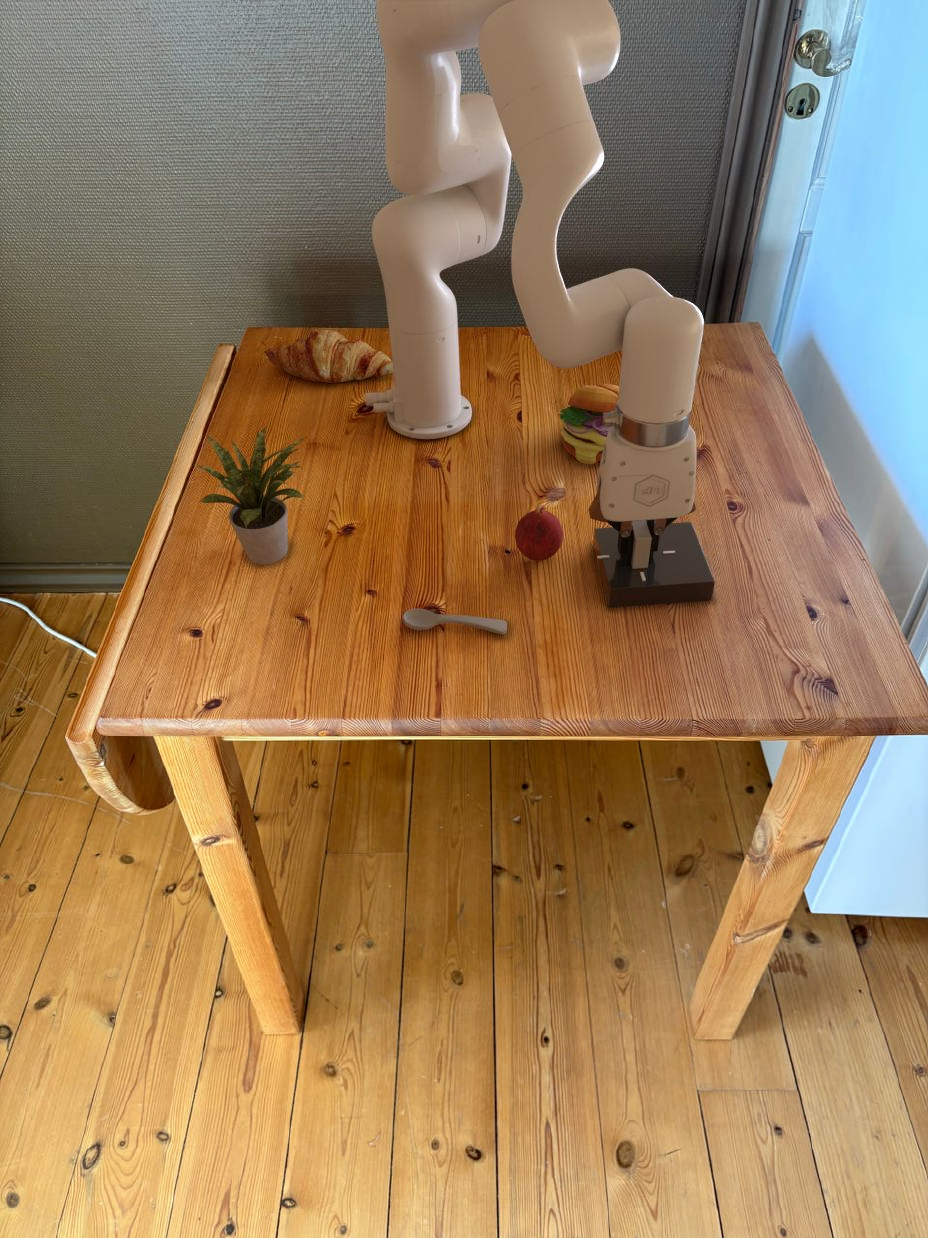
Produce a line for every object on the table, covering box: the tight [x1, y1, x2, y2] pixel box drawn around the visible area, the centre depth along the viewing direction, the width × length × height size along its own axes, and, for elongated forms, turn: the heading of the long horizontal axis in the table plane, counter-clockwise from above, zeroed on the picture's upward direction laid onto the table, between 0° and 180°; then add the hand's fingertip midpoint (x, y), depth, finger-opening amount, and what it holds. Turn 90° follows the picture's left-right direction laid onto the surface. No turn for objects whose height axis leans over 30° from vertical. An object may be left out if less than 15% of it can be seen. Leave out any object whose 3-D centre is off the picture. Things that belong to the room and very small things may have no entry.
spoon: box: [402, 608, 508, 636], centre depth 106 cm, size 3×12×2 cm, turn 83°
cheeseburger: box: [558, 383, 619, 465], centre depth 129 cm, size 10×11×10 cm
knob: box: [631, 520, 652, 569], centre depth 108 cm, size 5×2×5 cm, turn 3°
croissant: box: [266, 328, 393, 384], centre depth 147 cm, size 21×10×8 cm, turn 80°
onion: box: [514, 504, 564, 562], centre depth 111 cm, size 6×6×8 cm
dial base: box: [592, 521, 716, 609], centre depth 110 cm, size 13×11×3 cm
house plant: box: [197, 426, 307, 566], centre depth 111 cm, size 14×14×16 cm
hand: (636, 554), depth 109 cm, fingers closed on knob
